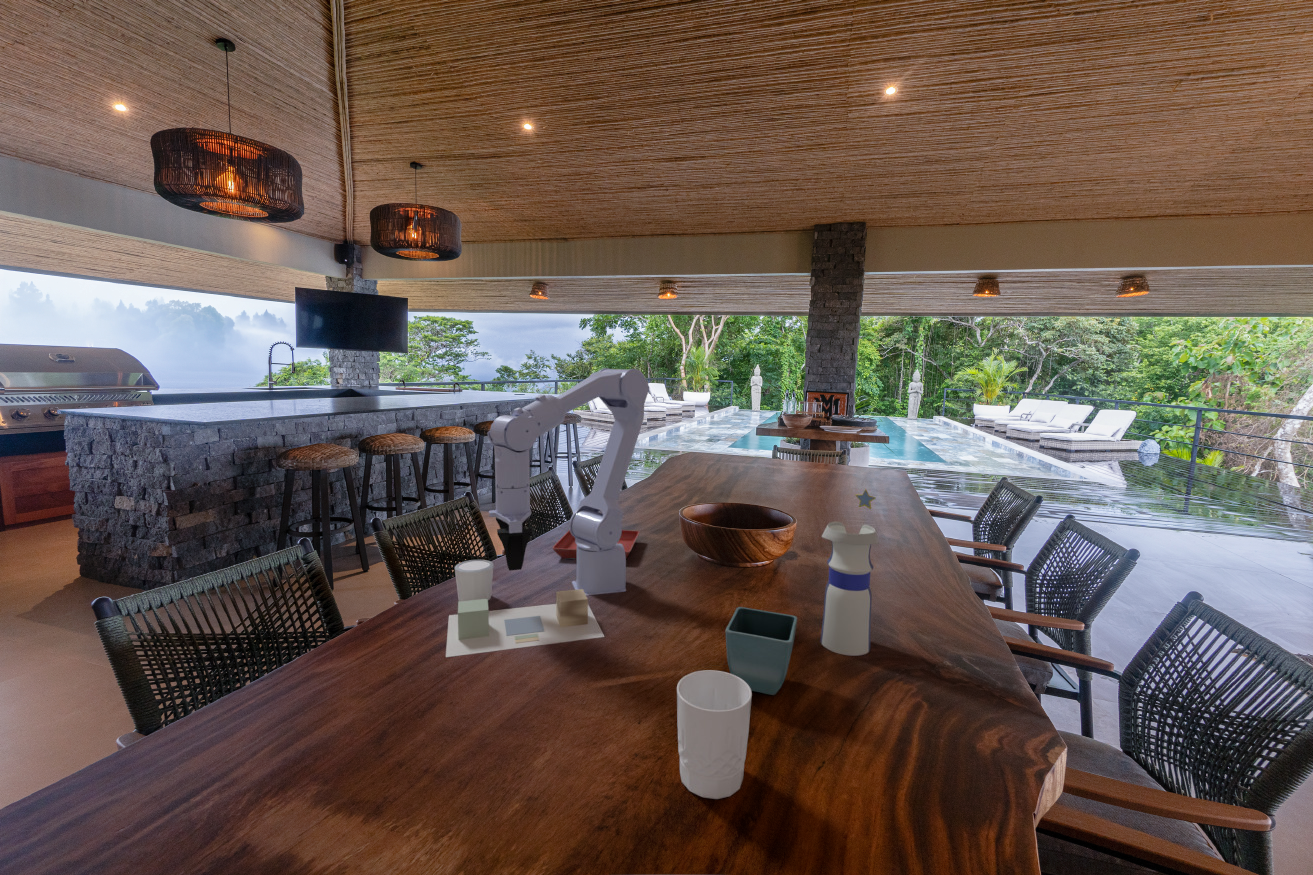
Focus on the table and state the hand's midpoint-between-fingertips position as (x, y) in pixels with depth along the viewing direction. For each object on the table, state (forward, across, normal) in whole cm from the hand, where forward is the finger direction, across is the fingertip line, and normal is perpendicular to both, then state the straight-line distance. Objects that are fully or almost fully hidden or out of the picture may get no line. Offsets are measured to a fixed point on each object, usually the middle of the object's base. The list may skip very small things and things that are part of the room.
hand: (513, 561), depth 99 cm
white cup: (+10, +47, +18) cm, 51 cm away
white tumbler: (+10, -8, -7) cm, 14 cm away
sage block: (+9, +6, -7) cm, 13 cm away
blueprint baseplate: (+10, +6, +1) cm, 11 cm away
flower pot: (+10, +32, +32) cm, 46 cm away
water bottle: (+10, +24, +50) cm, 57 cm away
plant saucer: (+10, -32, +22) cm, 40 cm away
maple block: (+9, +6, +9) cm, 14 cm away
